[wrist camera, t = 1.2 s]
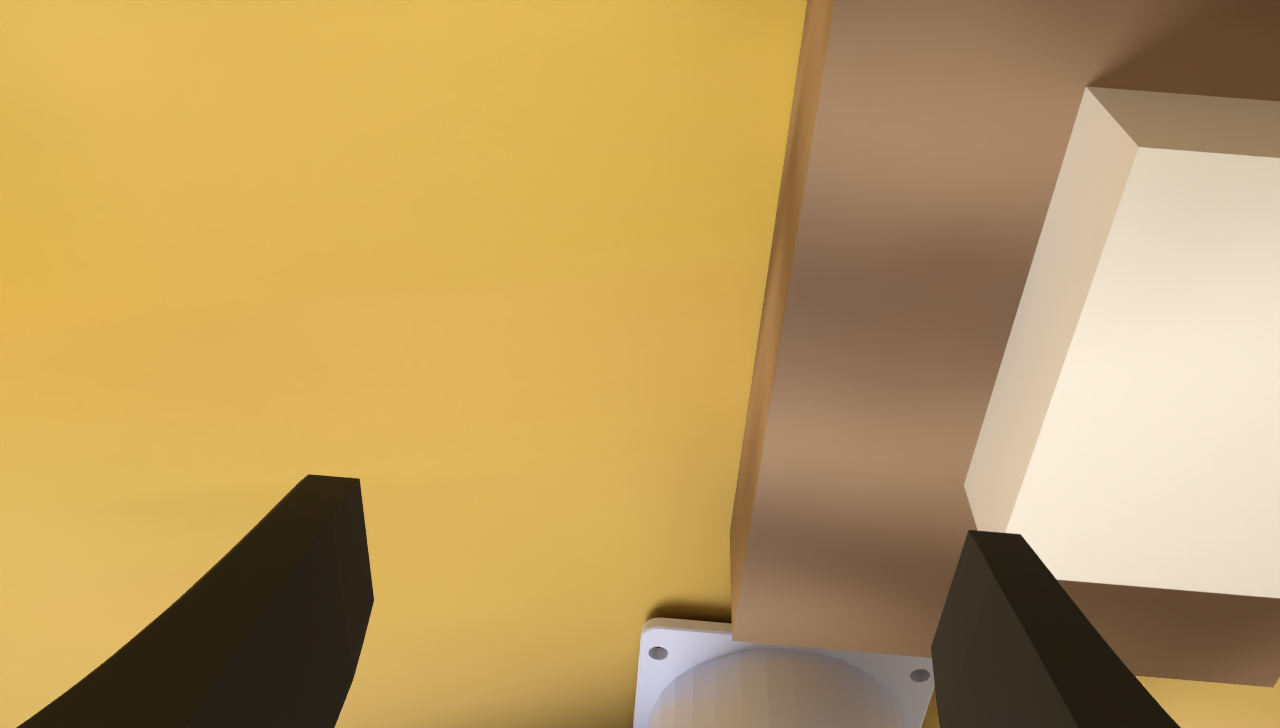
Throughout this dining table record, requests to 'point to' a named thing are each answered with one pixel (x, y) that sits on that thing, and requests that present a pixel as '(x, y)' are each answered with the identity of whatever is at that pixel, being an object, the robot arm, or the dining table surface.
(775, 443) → the walnut riser
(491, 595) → the dining table surface
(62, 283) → the dining table surface
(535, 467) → the dining table surface
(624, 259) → the dining table surface
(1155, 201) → the cream tile
